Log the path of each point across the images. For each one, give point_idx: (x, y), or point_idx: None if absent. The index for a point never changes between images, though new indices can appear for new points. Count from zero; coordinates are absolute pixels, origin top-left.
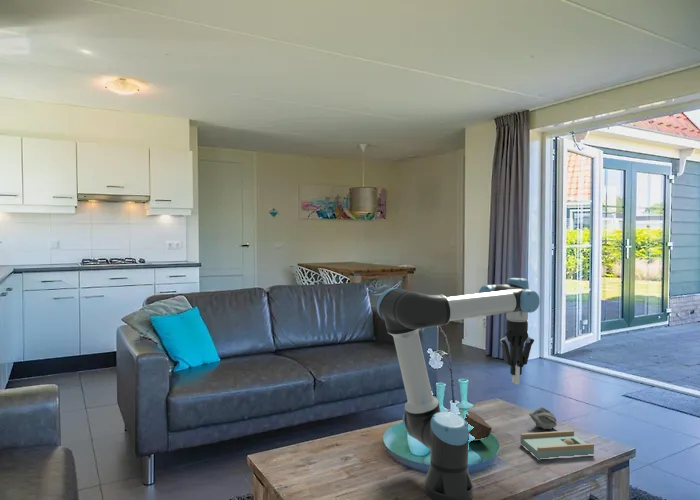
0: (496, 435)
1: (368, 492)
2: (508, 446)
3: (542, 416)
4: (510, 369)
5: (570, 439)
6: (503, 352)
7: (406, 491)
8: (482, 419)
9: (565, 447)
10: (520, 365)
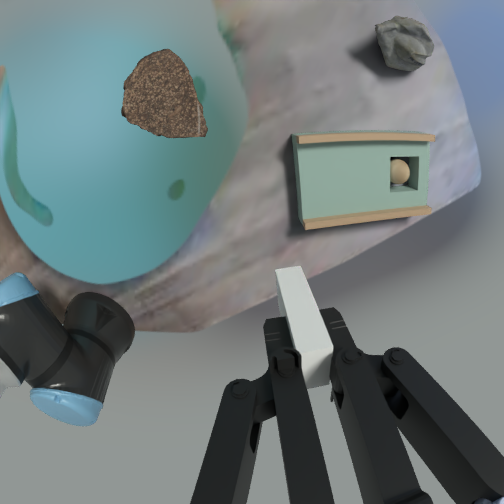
0: (246, 70)
1: None
2: (255, 140)
3: (404, 50)
4: (266, 345)
5: (407, 174)
6: (198, 482)
7: None
8: (190, 82)
9: (371, 220)
10: (331, 399)
